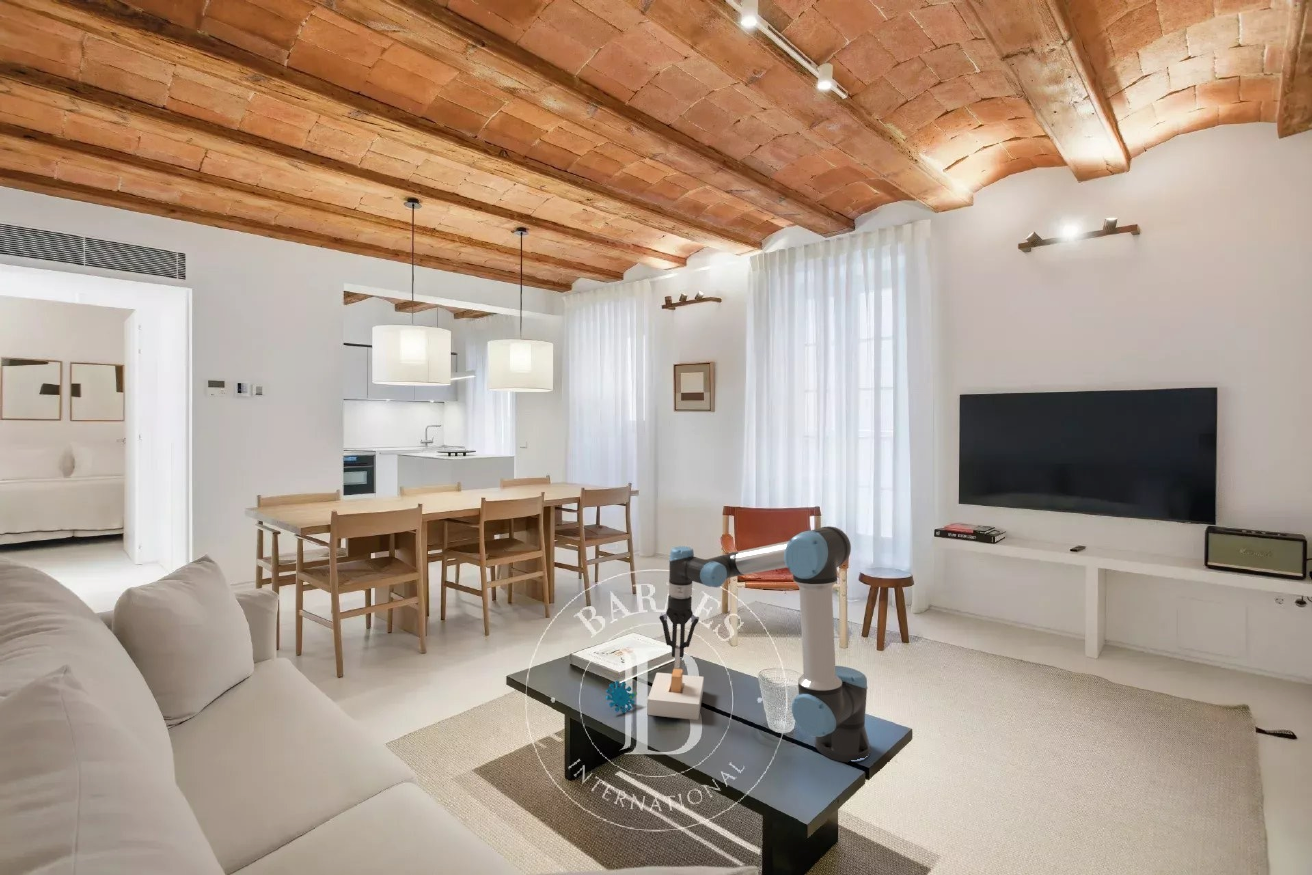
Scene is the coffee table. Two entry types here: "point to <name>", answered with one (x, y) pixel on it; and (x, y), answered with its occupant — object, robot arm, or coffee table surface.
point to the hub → (675, 697)
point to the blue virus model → (620, 696)
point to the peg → (676, 681)
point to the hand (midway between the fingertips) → (677, 666)
